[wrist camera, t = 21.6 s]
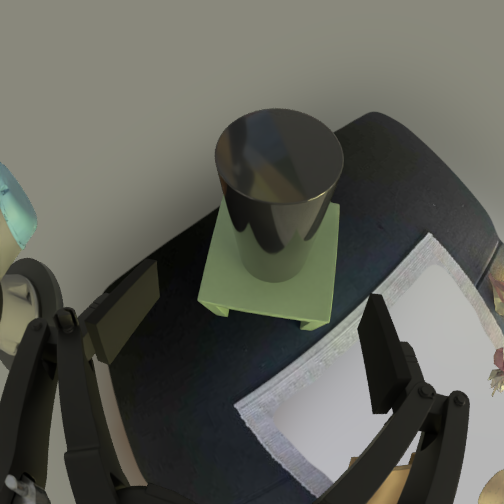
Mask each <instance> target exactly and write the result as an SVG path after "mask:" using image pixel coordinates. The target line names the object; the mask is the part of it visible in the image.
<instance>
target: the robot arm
mask: <svg viewBox="0 0 504 504" xmlns="http://www.w3.org/2000/svg"><path fill="white" fill-rule="evenodd" d="M36 228H37V217H36V213H35V211H34V209H33V206H32V204H31V203H30V201H29V199H28V197H27V195H26V194H25V192H24V191H23V189H22V187H21V186H20V185H19V183H18V182H17V180H16V179H15V178H14V176H13V175H12V174H11V172H10V171H9V170H8V168H6V166H5V165H3V164H2V163H1V162H0V349H1V350H3V351H4V352H6V353H7V354H9V355H13V356H15V357H14V360H13V363H12V366H11V368H10V371H9V375H8V378H7V381H6V384H5V387H4V391H3V394H2V398H1V401H0V504H51V502H50V500H49V498H48V496H47V494H46V492H45V490H44V489H45V485H46V479H47V464H48V447H49V436H50V427H51V419H52V412H53V405H54V399H55V393H56V388H57V382H58V383H59V395H60V405H61V412H62V420H63V427H64V433H65V439H66V444H67V452H66V453H65V454H64V460H65V465H66V469H67V473H68V477H69V481H70V485H71V488H72V492H73V495H74V498H75V501H76V504H197V503H195V502H193V501H191V500H189V499H187V498H186V497H184V496H182V495H180V494H178V493H176V492H175V491H172V490H169V489H166V488H163V487H160V486H157V485H154V484H152V483H149V482H148V485H147V486H130V484H129V482H128V480H127V478H126V477H125V475H124V473H123V471H122V469H121V466H120V464H119V461H118V458H117V455H116V452H115V449H114V446H113V443H112V440H111V437H110V433H109V429H108V426H107V423H106V419H105V415H104V411H103V407H102V403H101V398H100V394H99V390H98V385H97V380H96V374H95V369H94V364H93V360H92V357H93V355H94V354H96V356H97V359H98V361H100V362H103V363H106V364H108V365H110V364H111V363H112V361H113V360H114V358H115V357H116V356H117V354H118V353H119V351H120V350H121V349H122V347H123V346H124V344H125V343H126V342H127V340H128V339H129V337H130V336H131V335H132V333H133V332H134V331H135V329H136V328H137V327H138V325H139V324H140V322H141V321H142V320H143V318H144V317H145V316H146V314H147V313H148V312H149V310H150V309H151V308H152V306H153V305H154V304H155V302H156V301H157V300H158V299H159V297H160V294H159V285H158V273H157V261H156V260H151V259H145V260H144V261H143V262H142V263H141V264H140V265H139V266H138V267H137V268H135V269H134V270H133V271H132V272H131V273H130V274H129V275H128V276H127V277H126V278H125V279H124V280H123V281H122V282H121V283H120V284H119V285H118V286H117V287H116V288H115V289H114V290H113V291H112V292H111V293H110V294H108V293H105V294H103V295H101V296H99V297H98V298H97V299H96V300H95V301H94V302H93V303H92V304H91V305H90V306H89V307H88V308H87V309H86V310H85V311H84V312H83V313H82V314H81V315H80V316H79V317H78V318H77V316H76V313H75V310H74V309H73V308H69V307H65V308H61V309H59V310H57V311H56V312H55V313H54V314H53V317H52V318H53V321H54V323H55V326H56V327H54V326H48V323H47V321H46V319H44V318H42V304H41V299H40V295H39V292H38V289H37V287H36V286H35V284H34V283H33V282H32V281H31V280H30V279H28V278H26V277H24V276H22V275H19V274H12V275H5V273H6V272H7V270H8V269H9V267H10V266H11V264H12V263H13V261H14V260H15V258H16V257H17V256H18V254H19V253H20V251H21V250H24V248H25V246H26V243H27V242H28V240H29V239H30V238H31V236H32V235H33V234H34V232H35V230H36ZM357 330H358V334H359V339H360V343H361V349H362V354H363V358H364V364H365V369H366V375H367V380H368V386H369V392H370V399H371V405H372V412H373V414H387V413H388V411H389V410H390V409H391V408H392V410H393V414H392V416H391V417H390V418H389V419H388V421H387V422H386V423H385V424H384V426H383V428H382V429H381V430H380V432H379V433H378V434H377V435H376V437H375V438H374V439H373V440H372V442H371V443H370V444H369V445H368V447H367V448H366V449H365V450H364V451H363V453H362V454H361V455H360V456H359V457H358V458H357V459H356V460H355V462H354V463H353V464H352V465H351V466H350V467H349V468H348V469H347V470H346V471H345V472H344V473H343V474H342V475H341V477H340V478H339V479H338V480H337V481H336V482H335V483H334V484H333V485H332V486H331V487H329V488H328V489H327V490H326V491H325V492H324V493H323V494H322V495H321V496H320V497H319V498H318V499H317V500H316V501H314V502H313V503H312V504H367V502H368V501H369V500H370V499H371V498H372V496H373V495H374V494H375V493H376V492H377V490H378V489H379V488H380V487H381V485H382V484H383V483H384V481H385V480H386V479H387V477H388V476H389V475H390V473H391V472H392V471H393V469H394V468H395V466H396V465H397V464H398V462H399V461H400V459H401V458H402V456H403V455H404V453H405V452H406V450H407V448H408V447H409V445H410V444H411V442H412V441H413V439H414V437H415V436H416V434H417V432H418V431H422V432H421V436H420V440H419V443H418V447H417V450H416V453H415V456H414V460H413V463H412V466H411V468H410V471H409V474H408V477H407V480H406V482H405V485H404V487H403V490H402V492H401V495H400V497H399V500H398V502H397V504H453V502H454V498H455V494H456V491H457V487H458V482H459V478H460V474H461V469H462V464H463V458H464V452H465V446H466V439H467V431H468V420H469V408H470V403H469V399H468V397H467V395H466V394H465V393H463V392H461V391H453V392H452V393H451V394H450V395H449V396H444V395H440V394H437V393H436V391H435V389H434V388H433V386H431V385H430V384H428V383H426V382H425V380H424V378H423V375H422V372H421V369H420V366H419V364H418V361H417V358H416V357H415V356H416V355H415V353H414V350H413V348H412V347H411V346H410V344H409V343H408V342H400V340H399V338H398V335H397V332H396V330H395V327H394V324H393V322H392V319H391V317H390V314H389V311H388V309H387V306H386V304H385V302H384V299H383V297H382V295H380V294H372V293H370V296H369V299H368V301H367V304H366V307H365V310H364V313H363V315H362V318H361V321H360V323H359V326H358V328H357Z"/></svg>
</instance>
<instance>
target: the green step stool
mask: <svg viewBox="0 0 504 504" xmlns="http://www.w3.org/2000/svg"><path fill="white" fill-rule="evenodd" d="M339 206H340V205H339V204H335V203H330V204H329V207H328V210H327V212H326V215H325V217H324V220H323V222H322V225H321V227H320V230H319V232H318V234H317V237H316V239H315V242H314V244H313V246H312V249H311V251H310V254H309V256H308V258H307V261H306V263H305V265H304V267H303V268H302V270H301V271H300V272H299V273H298V274H297V275H296V276H294V277H293V278H291V279H289V280H287V281H284V282H279V283H269V282H264V281H261V280H259V279H257V278H255V277H253V276H252V275H251V274H250V273H249V272H248V271H247V270H246V269H245V267H244V266H243V264H242V262H241V259H240V255H239V251H238V247H237V244H236V240H235V236H234V232H233V229H232V225H231V221H230V217H229V213H228V210H227V206H226V202H225V198H224V195H223V198H222V202H221V206H220V209H219V213H218V217H217V221H216V225H215V229H214V233H213V237H212V241H211V245H210V249H209V253H208V257H207V261H206V265H205V270H204V274H203V278H202V282H201V287H200V291H199V296H198V301H199V302H200V303H201V304H203V305H204V306H205V307H207V308H208V309H209V310H211V311H212V312H213V313H215V314H216V315H219V316H224V317H228V313H229V309H233V310H238V311H244V312H250V313H256V314H262V315H268V316H274V317H280V318H287V319H293V320H300V321H301V325H300V329H303V330H310V331H312V330H314V329H316V328H318V327H320V326H322V325H324V324H327V323H329V322H330V314H331V306H332V298H333V289H334V279H335V268H336V256H337V243H338V227H339Z"/></svg>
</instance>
